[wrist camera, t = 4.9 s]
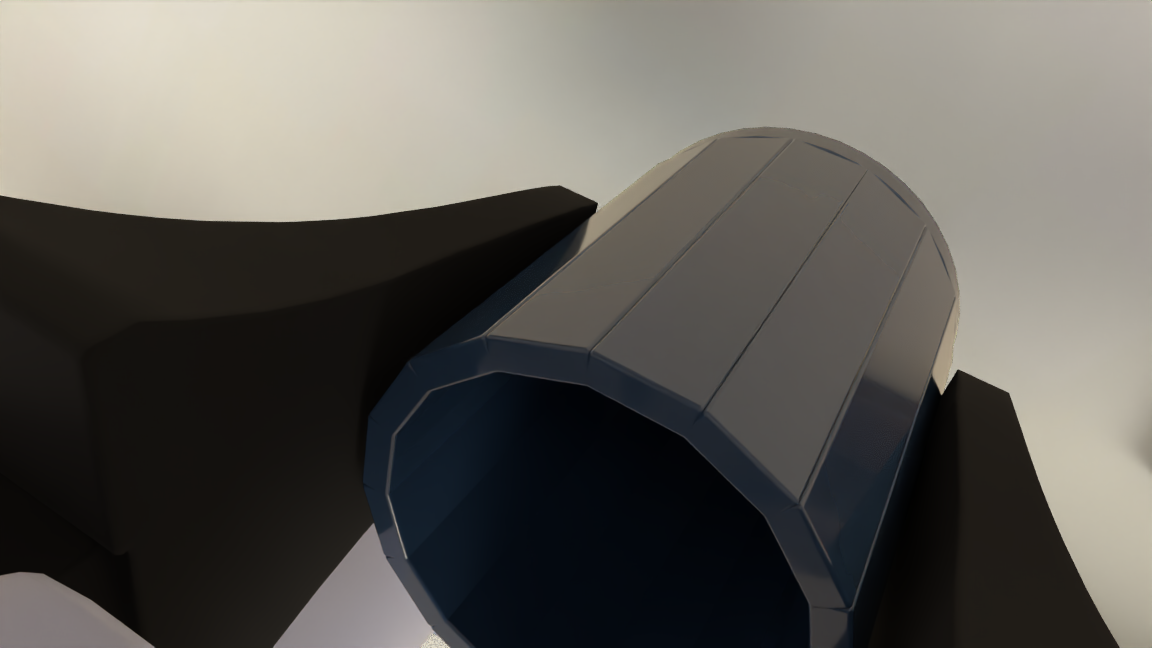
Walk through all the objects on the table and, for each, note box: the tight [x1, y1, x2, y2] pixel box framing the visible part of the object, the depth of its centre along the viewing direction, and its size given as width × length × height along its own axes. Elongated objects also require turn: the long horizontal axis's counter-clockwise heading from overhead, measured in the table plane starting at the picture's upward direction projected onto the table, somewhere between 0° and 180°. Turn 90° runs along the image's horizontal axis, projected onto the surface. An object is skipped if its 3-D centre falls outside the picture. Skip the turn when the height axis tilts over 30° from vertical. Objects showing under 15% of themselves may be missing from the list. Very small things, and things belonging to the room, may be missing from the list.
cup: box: [362, 127, 960, 648], centre depth 10 cm, size 5×5×6 cm
